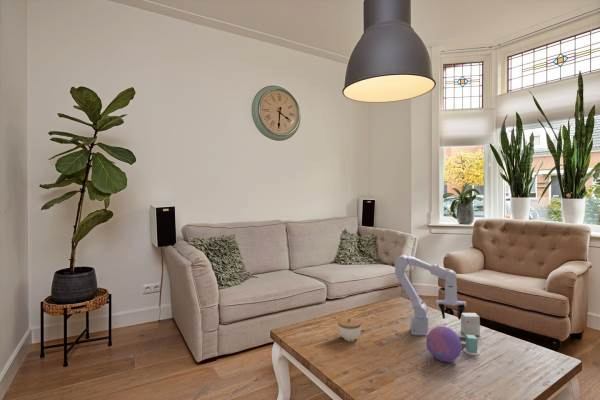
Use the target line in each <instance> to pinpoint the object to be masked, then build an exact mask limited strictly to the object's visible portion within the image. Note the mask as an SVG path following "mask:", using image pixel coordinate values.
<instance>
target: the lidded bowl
mask: <svg viewBox="0 0 600 400" xmlns="http://www.w3.org/2000/svg"><path fill="white" fill-rule="evenodd" d="M337 329H338V333H339V336H340V337H341V338H342V339H343V338H344V339H346V340H355V339H356V340H357V339H358V338H359V337H360V336H361V332H362V321H361V319H359V318H356V317H348V316H347V317H346V316H345V317H342V318H339V319H338V321H337ZM344 339H343V340H344ZM346 340H345V341H346ZM356 340H355V341H356Z"/></svg>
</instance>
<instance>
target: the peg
mask: <svg viewBox="0 0 600 400" xmlns="http://www.w3.org/2000/svg"><path fill="white" fill-rule="evenodd" d="M465 342H466V350H467V351H468V353H477V350H478V337H477V336H476V335H466V341H465Z"/></svg>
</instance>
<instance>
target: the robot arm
mask: <svg viewBox="0 0 600 400" xmlns="http://www.w3.org/2000/svg"><path fill="white" fill-rule="evenodd" d="M407 266H408V267H414V266H416V267H419V268H421V269H424V270H425V271H426V270H427V271H429V273H430V274H431V275H433V276H436V277H437V278H440V279H442V280H443V279H444V281H445V284H444V299H438V300H437V299H436V300H435V301H436V302H435V303H436V306H438V307H439V310H440V312H441V316H442V319H443V320H445V319H446V315H445V313H446V311H445V310H446V309H445V308H446V307H445V306H457V319H458V320H460V321H461V315H462V313H464V311H465V307H467V302H466V301H464V300H463V301H462V300H458V292H457V289H458V288H457V286H458V285H457V273H456V271H455V270H453V269H450V268H445V267H443V266H441V265H440V264H438V263H437V264H436V263H434V264H430V263H427V262H425V261H424V260H421V259H418V258H417V257H414V256H412V255H409V254H406V253H402V254H400V255H399V257H397V258H396V260H395V262H394V267H395V268H394V275H395V276H396V278H397V279H398V282H399V283H400V285H401V286H402V289H403V290H404V292H405V293H406V295H407V297H408V299H409V301H410V302H411V306H412V309H413V313H414V315H410V318H409V321H410V323H409V324H410V327H409V329H410V333H411V335H412V336H414V335H415V336H426V337H427V335H428V333H429V332H430V330H429V315H428V311H429V306H428V304H426V303H425V302H424V300H422V298H421V297H420V296H419V294H418V293H417V291H416V289H415V287H414V286H413V284H412V283H411V281H410V279H409V278H408V276H407V274H406V270H407Z"/></svg>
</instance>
